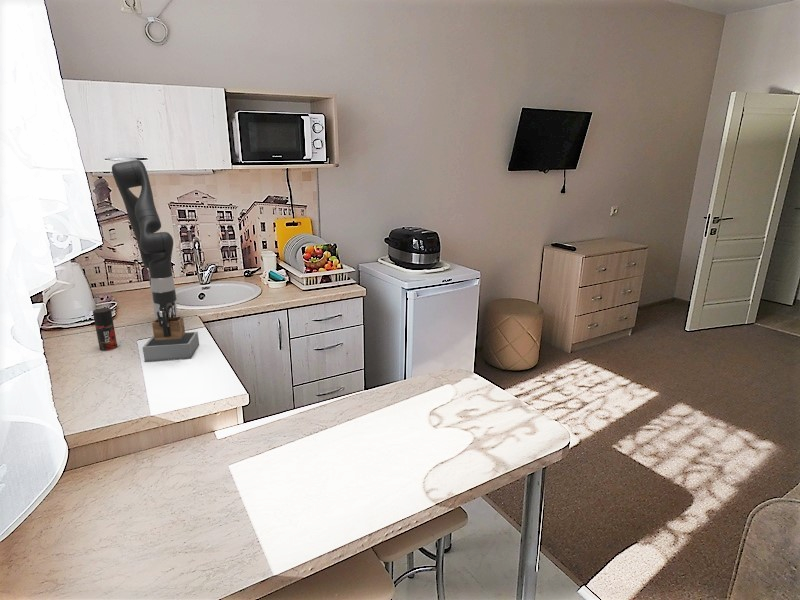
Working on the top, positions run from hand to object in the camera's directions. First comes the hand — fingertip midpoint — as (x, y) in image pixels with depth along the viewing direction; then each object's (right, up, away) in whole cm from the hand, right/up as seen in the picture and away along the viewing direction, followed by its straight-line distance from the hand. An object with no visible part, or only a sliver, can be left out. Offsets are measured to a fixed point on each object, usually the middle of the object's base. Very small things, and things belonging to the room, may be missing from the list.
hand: (169, 333), depth 182 cm
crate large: (0, -7, +2) cm, 8 cm away
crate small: (0, -1, 0) cm, 1 cm away
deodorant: (-27, -6, +9) cm, 29 cm away
